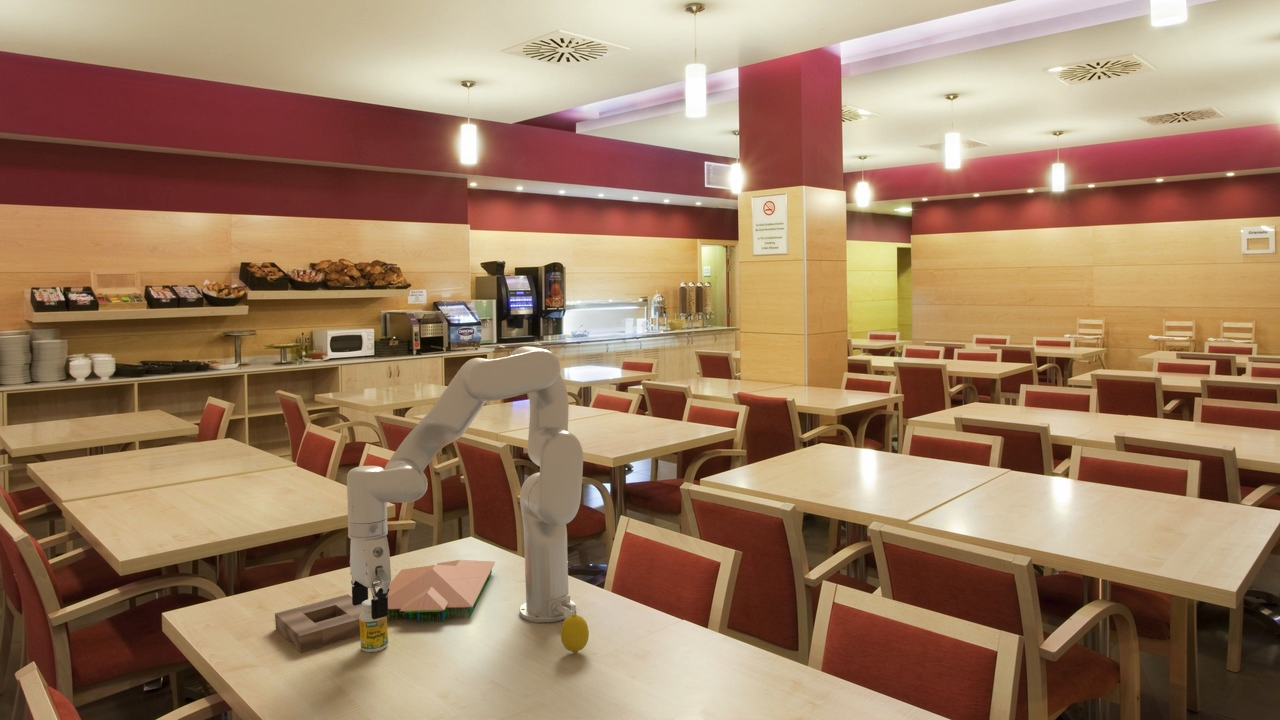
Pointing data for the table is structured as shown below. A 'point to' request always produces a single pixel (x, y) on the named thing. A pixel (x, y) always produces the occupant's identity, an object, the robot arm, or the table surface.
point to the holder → (320, 623)
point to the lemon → (574, 633)
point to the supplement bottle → (372, 630)
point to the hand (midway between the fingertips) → (369, 610)
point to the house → (439, 587)
